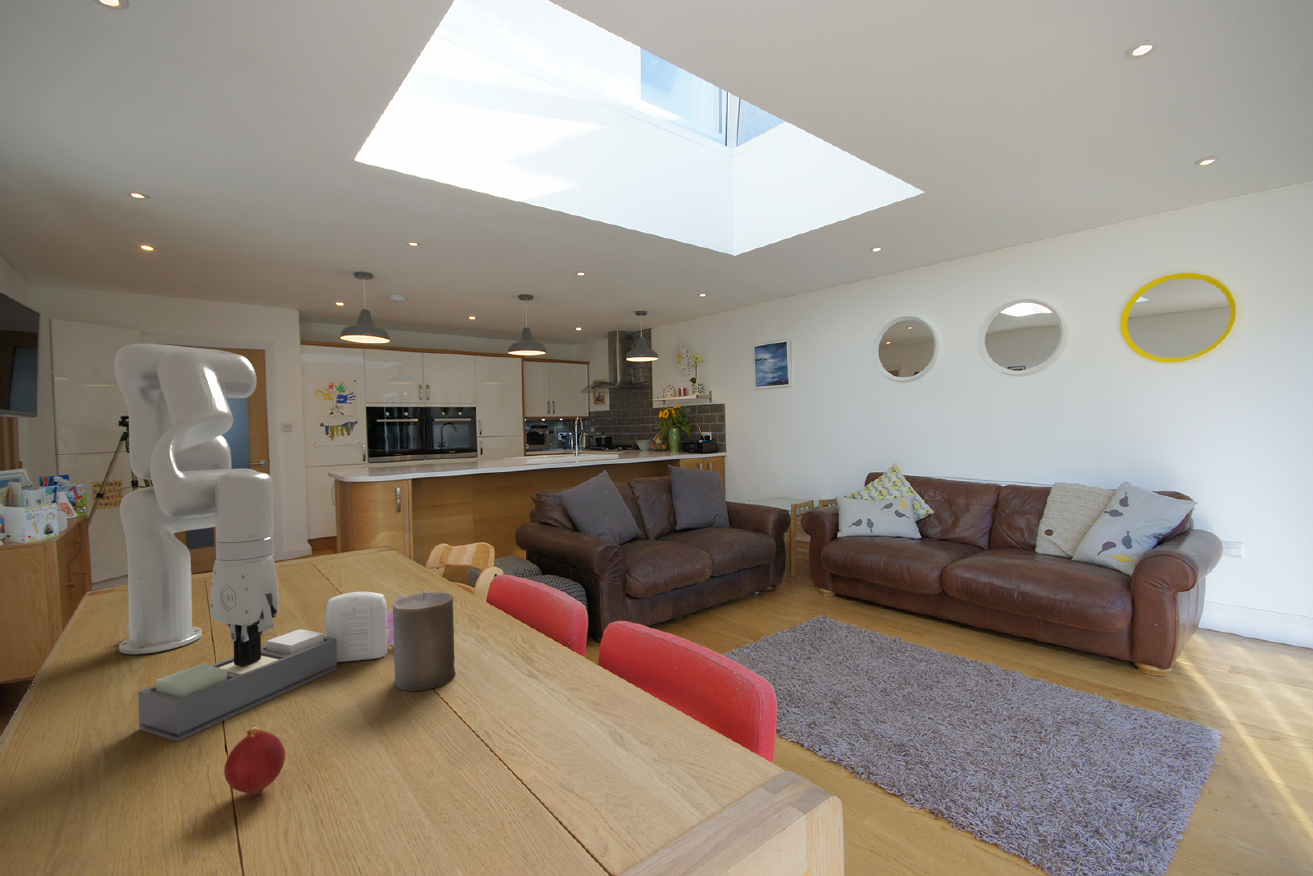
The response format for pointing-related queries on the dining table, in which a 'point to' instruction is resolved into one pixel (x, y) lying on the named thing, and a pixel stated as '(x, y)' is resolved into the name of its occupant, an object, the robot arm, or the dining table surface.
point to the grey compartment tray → (233, 692)
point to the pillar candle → (423, 641)
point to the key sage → (190, 680)
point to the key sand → (249, 667)
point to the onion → (254, 762)
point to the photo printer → (358, 625)
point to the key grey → (295, 641)
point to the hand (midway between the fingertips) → (247, 662)
